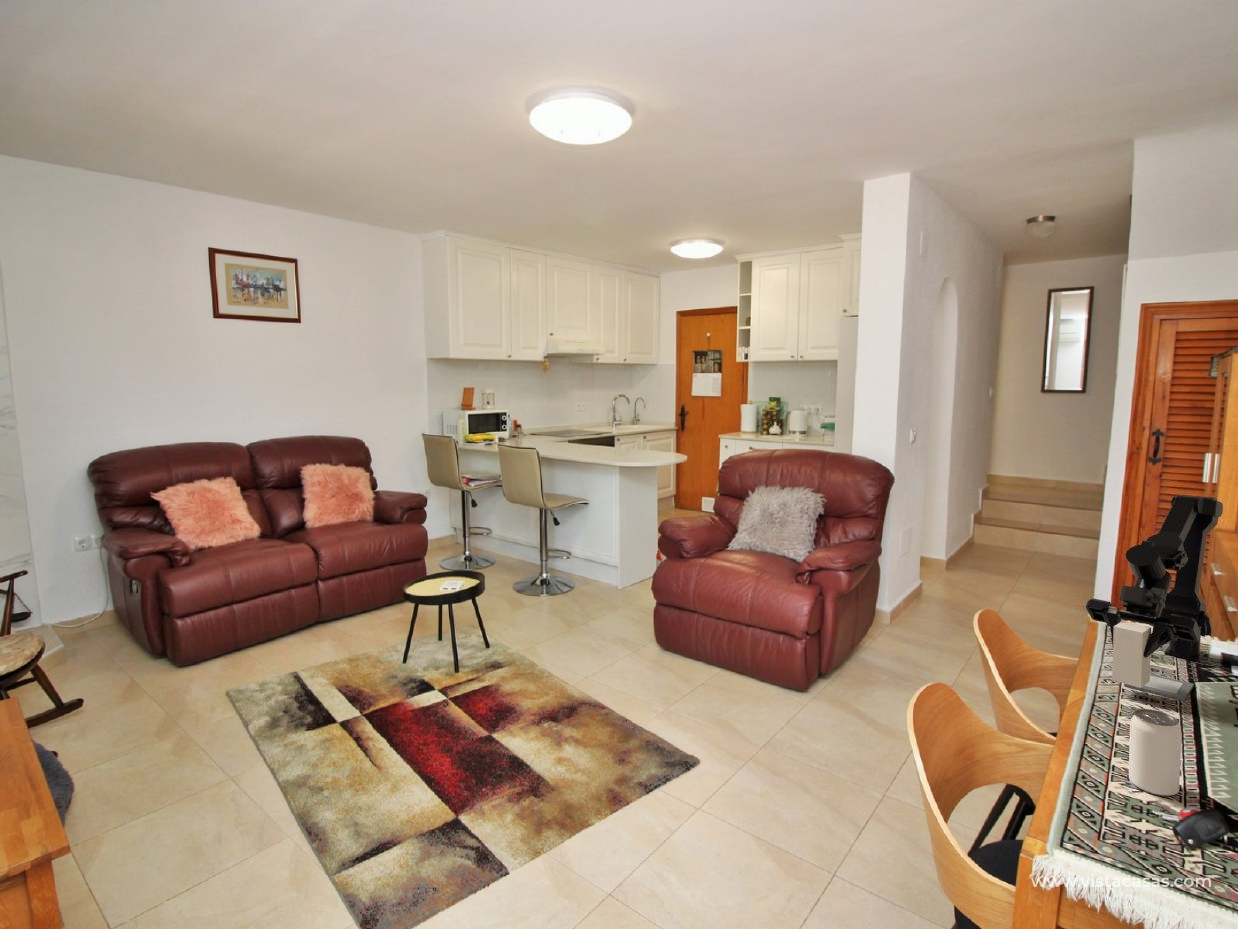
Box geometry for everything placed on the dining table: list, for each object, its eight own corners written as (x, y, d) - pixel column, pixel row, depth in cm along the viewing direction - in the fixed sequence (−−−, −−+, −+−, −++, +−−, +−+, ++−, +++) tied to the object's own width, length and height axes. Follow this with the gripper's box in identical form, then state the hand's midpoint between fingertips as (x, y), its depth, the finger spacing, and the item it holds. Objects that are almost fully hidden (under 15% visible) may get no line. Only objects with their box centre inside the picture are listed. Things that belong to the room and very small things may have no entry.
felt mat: (1136, 672, 147) (1136, 669, 147) (1193, 686, 139) (1193, 683, 139) (1124, 686, 141) (1124, 683, 141) (1183, 701, 133) (1183, 698, 133)
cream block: (1121, 673, 140) (1122, 621, 139) (1149, 681, 136) (1151, 627, 134) (1112, 680, 137) (1113, 626, 136) (1140, 688, 133) (1142, 632, 132)
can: (1159, 774, 109) (1162, 707, 107) (1189, 798, 102) (1192, 727, 101) (1119, 774, 109) (1121, 707, 108) (1146, 797, 103) (1148, 726, 102)
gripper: (1089, 563, 144) (1067, 621, 139) (1197, 580, 128) (1177, 646, 123) (1103, 590, 149) (1082, 647, 144) (1208, 609, 134) (1189, 674, 129)
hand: (1129, 652), depth 135 cm, fingers closed on cream block, 5 cm apart
